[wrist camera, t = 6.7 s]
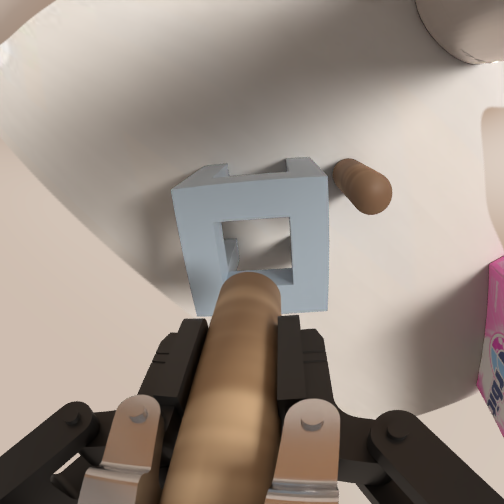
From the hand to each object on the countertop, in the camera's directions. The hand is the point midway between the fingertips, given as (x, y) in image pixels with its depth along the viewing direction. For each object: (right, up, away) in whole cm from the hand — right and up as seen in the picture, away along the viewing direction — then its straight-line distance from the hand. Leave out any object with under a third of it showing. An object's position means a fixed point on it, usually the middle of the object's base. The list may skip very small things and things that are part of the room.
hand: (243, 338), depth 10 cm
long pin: (0, +1, +2) cm, 3 cm away
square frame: (+1, +6, +13) cm, 15 cm away
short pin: (+8, +9, +11) cm, 16 cm away
